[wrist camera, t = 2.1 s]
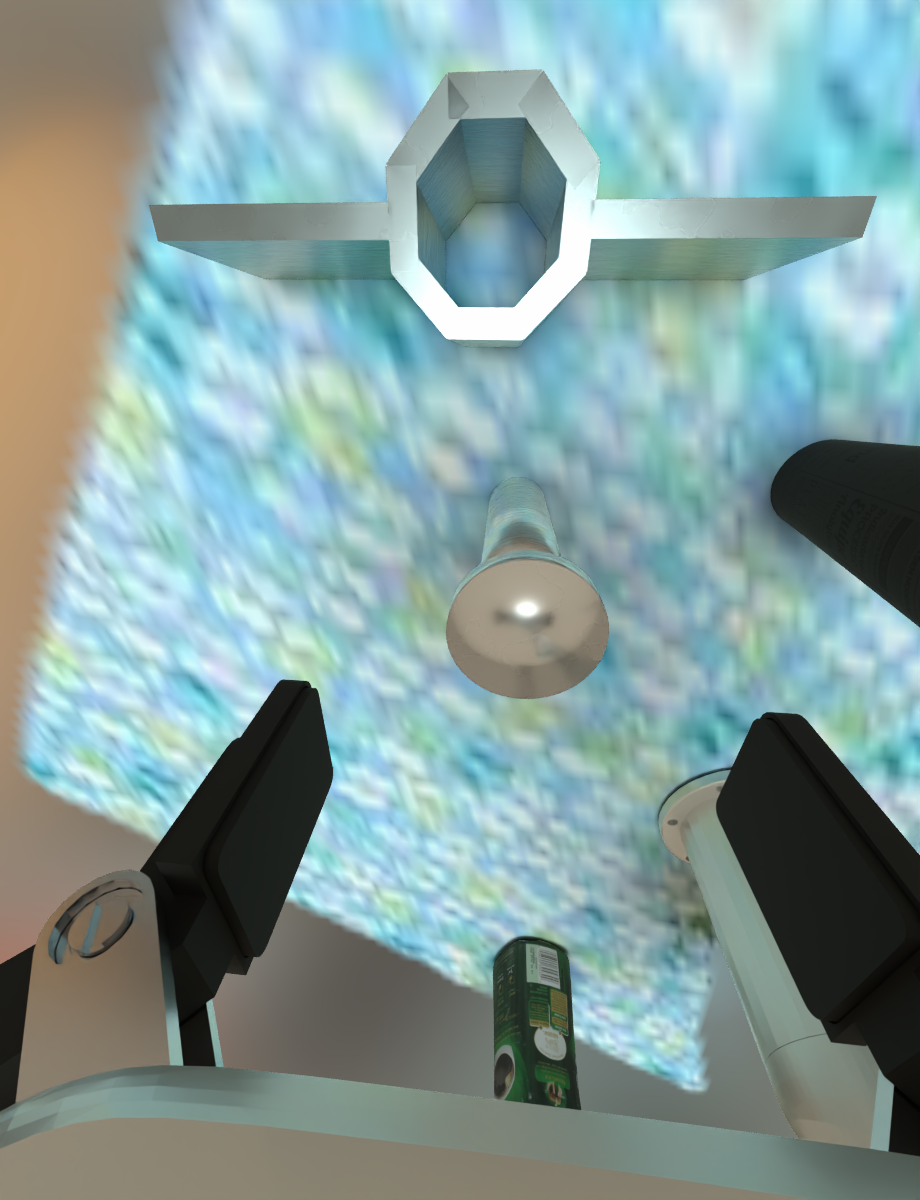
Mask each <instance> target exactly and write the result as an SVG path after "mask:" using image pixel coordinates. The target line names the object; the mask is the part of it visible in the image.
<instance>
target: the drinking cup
mask: <svg viewBox="0 0 920 1200" xmlns="http://www.w3.org/2000/svg"><path fill="white" fill-rule="evenodd" d="M771 501H772V505H773V508H774V510H775V511H776V513H777V514H778V515H779V516H780V517H781V518H782V519H784V520H785V521H786V522H787V523H789V524H790V525H791V526H792V527H794V528H795V529H796V530H797V531H799V532H800V533H801V534H802V535H804V536H805V537H806V538H808V539H809V540H810V541H811V542H813V543H814V544H815V545H816V546H818V547H819V548H820V549H821V550H823V551H824V552H825V553H827V554H828V555H829V556H830V557H832V558H833V559H834V560H835V561H837V562H838V563H839V564H840V565H842V566H843V567H844V568H845V569H847V570H848V571H849V572H851V573H852V574H853V575H854V576H856V577H857V578H858V579H859V580H861V581H862V582H863V583H864V584H866V585H867V586H868V587H869V588H871V589H872V590H873V591H875V592H876V593H877V594H878V595H880V596H881V597H882V598H883V599H885V600H886V601H887V602H888V603H890V604H891V605H892V606H894V607H895V608H896V609H897V610H899V611H900V612H901V613H902V614H904V615H905V616H906V617H907V618H909V619H910V620H911V621H912V622H914V623H915V624H916V625H918V626H919V627H920V446H908V445H896V444H884V443H871V442H859V441H847V440H825V441H820V442H817V443H814V444H811V445H809V446H807V447H805V448H803V449H802V450H800V451H798V452H797V453H796V454H794V455H793V456H792V457H791V458H790V459H789V460H788V461H787V462H786V463H785V464H784V465H783V466H782V467H781V469H780V470H779V472H778V473H777V475H776V477H775V479H774V482H773V485H772V490H771Z"/></svg>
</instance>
